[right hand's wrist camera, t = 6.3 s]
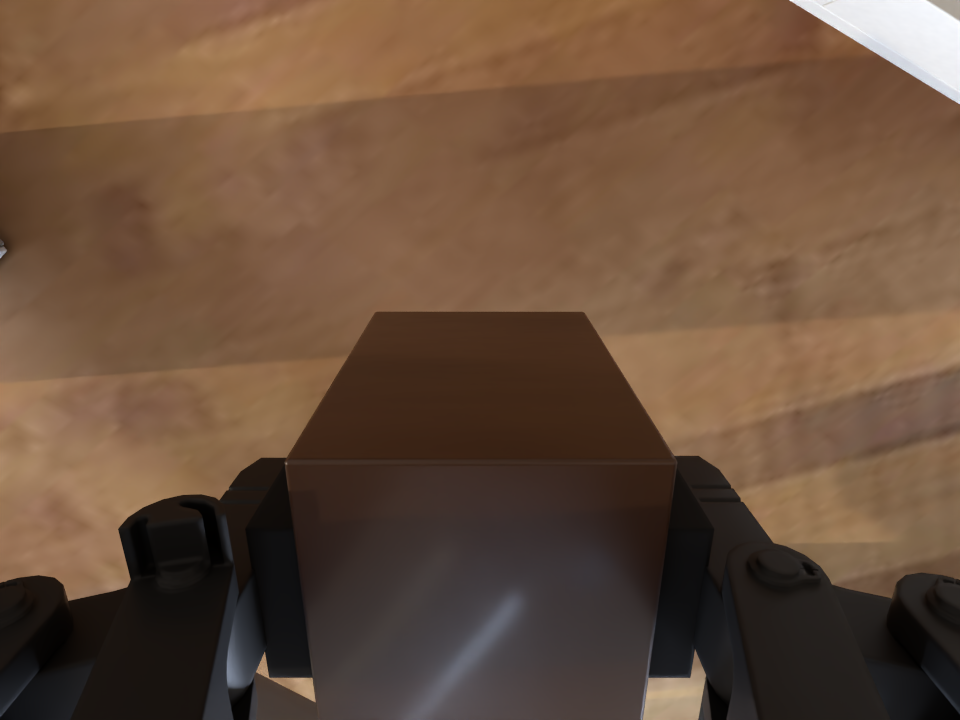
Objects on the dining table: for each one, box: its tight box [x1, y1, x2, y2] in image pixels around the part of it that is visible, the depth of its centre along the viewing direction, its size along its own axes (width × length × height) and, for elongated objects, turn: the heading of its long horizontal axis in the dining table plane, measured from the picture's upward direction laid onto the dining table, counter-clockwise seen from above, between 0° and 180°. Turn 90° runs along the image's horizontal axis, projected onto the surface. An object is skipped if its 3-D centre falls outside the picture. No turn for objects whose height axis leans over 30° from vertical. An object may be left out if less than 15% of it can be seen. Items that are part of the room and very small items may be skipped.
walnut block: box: [285, 312, 677, 720], centre depth 12 cm, size 5×5×7 cm
